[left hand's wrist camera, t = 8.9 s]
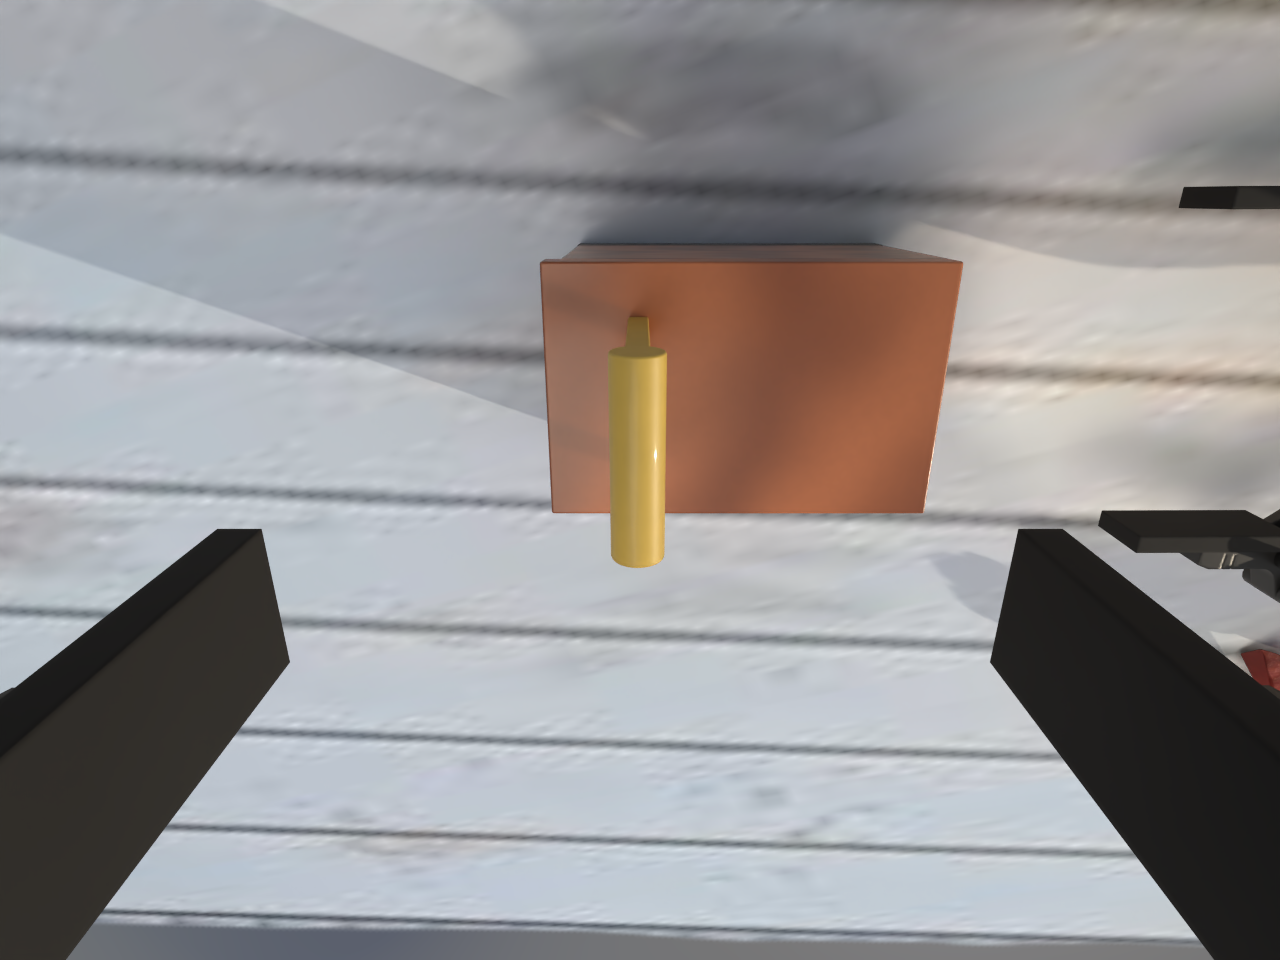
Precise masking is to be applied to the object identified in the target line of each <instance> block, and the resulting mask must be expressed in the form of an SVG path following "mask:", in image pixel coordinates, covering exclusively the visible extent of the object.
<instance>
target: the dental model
mask: <svg viewBox="0 0 1280 960" xmlns="http://www.w3.org/2000/svg"><path fill="white" fill-rule="evenodd" d="M1241 656H1242V658H1243V660H1244V662H1245V664H1246V666H1247V668H1248V669H1249V671H1250V673H1251V675H1252V677H1253V679H1254V680H1256V681H1257V682H1258V683H1260V684H1261V685H1270V686H1271V687H1273V688H1275V689H1277V690H1279V691H1280V655H1278V654H1275V653H1272V652H1269V651H1265V650H1261V649H1259V650H1254V651H1250V652H1246V653H1242V654H1241Z"/></svg>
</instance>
